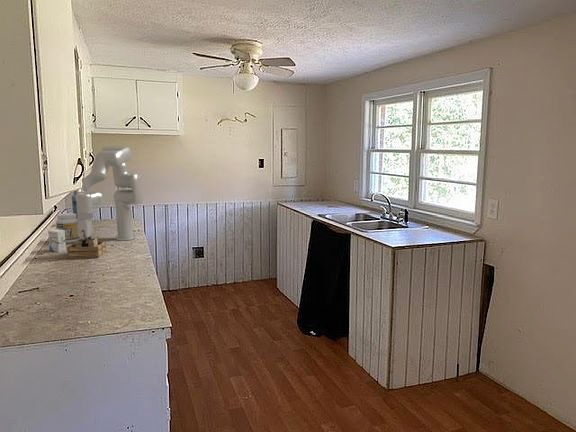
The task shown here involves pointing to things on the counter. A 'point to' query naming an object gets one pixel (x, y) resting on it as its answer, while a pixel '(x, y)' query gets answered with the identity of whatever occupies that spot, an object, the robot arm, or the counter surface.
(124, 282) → the counter surface
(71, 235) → the supplement tub
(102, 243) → the crate
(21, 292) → the counter surface
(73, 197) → the bottle
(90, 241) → the small crate
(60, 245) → the ink box
